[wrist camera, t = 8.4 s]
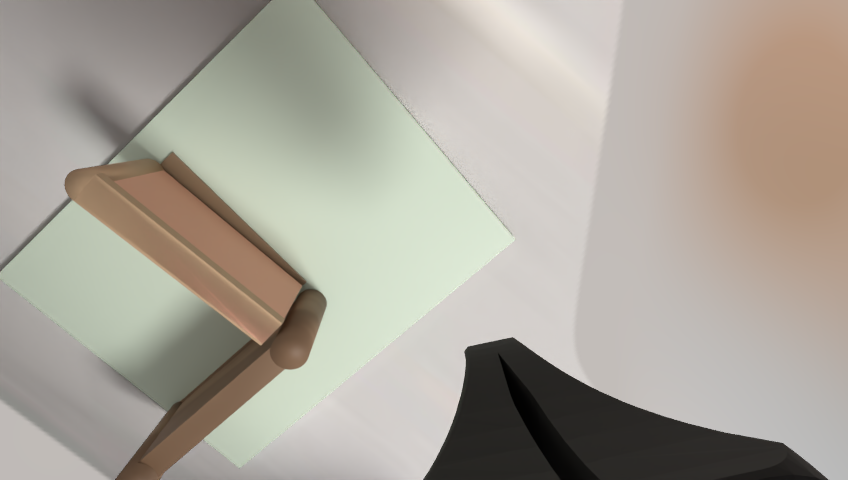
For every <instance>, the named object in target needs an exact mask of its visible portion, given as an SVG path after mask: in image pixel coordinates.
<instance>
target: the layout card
mask: <svg viewBox="0 0 848 480" xmlns="http://www.w3.org/2000/svg"><path fill="white" fill-rule="evenodd" d="M140 159H153V160H155V161H157V162H158V163H159V164H160V165H161V166H162V167H163V169H164V171H165V172H167V173H168V174H169V175H170V176H171V177H173V178H174V179H175V180H176V181H177V182H179V183H180V184H181V185H182V186H183V187H185V188H186V189H187V190H188V191H189V192H191V193H192V194H193V195H194V196H195V197H197V198H198V199H199V200H200V201H201V202H203V203H204V204H205V205H206V206H207V207H209V208H210V209H211V210H212V211H213V212H215V213H216V214H217V215H218V216H219V217H221V218H222V219H223V220H224V221H225V222H227V223H228V224H229V225H230V226H231V227H233V228H234V229H235V230H236V231H237V232H239V233H240V234H241V235H242V236H243V237H245V238H246V239H247V240H248V241H249V242H251V243H252V244H253V245H254V246H255V247H256V248H258V249H259V250H260V251H261V252H262V253H264V254H265V255H266V256H267V257H268V258H270V259H271V260H272V261H273V262H274V263H276V264H277V265H278V266H279V267H280V268H282V269H283V270H284V271H285V272H286V273H288V274H289V275H290V276H291V277H292V278H294V279H295V280H296V281H297V282H298V283H300V284H301V285H302V287H301V289H300V291H299V293H298V295H299V294H300V293H301V292H303V291H304V290H308V289H314V290H317V291H319V292H321V293H322V294H323V295H324V296H325V298H326V301H327V307H326V310H325V312H324V315H323V318H322V321H321V324H320V326H319V329H318V332H317V335H316V338H315V340H314V343H313V346H312V349H311V352H310V354H309V357H308V360H307V362H306V363H305V364H304V365H303V366H301V367H300V368H297V369H293V370H288V369H285V370H283V371H282V372H281V373H280V374H279V375H278V376H276V377H275V378H274V379H273V380H272V381H271V382H269V383H268V384H267V385H266V386H265V387H264V388H262V389H261V390H260V391H259V392H258V393H257V394H255V395H254V396H253V397H252V398H251V399H250V400H248V401H247V402H246V403H245V404H244V405H242V406H241V407H240V408H239V409H238V410H237V411H235V412H234V413H233V414H232V415H231V416H230V417H228V418H227V419H226V420H225V421H224V422H223V423H221V424H220V425H219V426H218V427H217V428H216V429H214V430H213V431H212V432H211V433H210V434H209V435H207V436H206V437H205V438H204V439H203V440H204V441H205V442H207V443H208V444H209V445H210V446H212V447H213V448H214V449H215V450H217V451H218V452H219V453H221V454H222V455H223V456H224V457H226V458H227V459H228V460H229V461H231V462H232V463H233V464H234V465H236V466H237V467H238V468H241V467H242V466H244V465H245V464H246V463H247V462H248V461H250V460H251V459H252V458H253V457H254V456H256V455H257V454H258V453H259V452H260V451H262V450H263V449H264V448H265V447H266V446H268V445H269V444H270V443H271V442H272V441H274V440H275V439H276V438H277V437H278V436H280V435H281V434H282V433H283V432H285V431H286V430H287V429H288V428H289V427H291V426H292V425H293V424H294V423H295V422H297V421H298V420H299V419H300V418H301V417H303V416H304V415H305V414H306V413H307V412H309V411H310V410H311V409H312V408H313V407H315V406H316V405H317V404H318V403H319V402H321V401H322V400H323V399H324V398H325V397H327V396H328V395H329V394H330V393H331V392H333V391H334V390H335V389H336V388H338V387H339V386H340V385H341V384H342V383H344V382H345V381H346V380H347V379H348V378H350V377H351V376H352V375H353V374H354V373H356V372H357V371H358V370H359V369H360V368H362V367H363V366H364V365H365V364H366V363H368V362H369V361H370V360H371V359H372V358H374V357H375V356H376V355H377V354H378V353H380V352H381V351H382V350H383V349H384V348H386V347H387V346H388V345H389V344H391V343H392V342H393V341H394V340H395V339H397V338H398V337H399V336H400V335H401V334H403V333H404V332H405V331H406V330H407V329H409V328H410V327H411V326H412V325H413V324H415V323H416V322H417V321H418V320H419V319H421V318H422V317H423V316H424V315H425V314H427V313H428V312H429V311H430V310H431V309H433V308H434V307H435V306H436V305H437V304H439V303H440V302H441V301H442V300H444V299H445V298H446V297H447V296H448V295H450V294H451V293H452V292H453V291H454V290H456V289H457V288H458V287H459V286H460V285H462V284H463V283H464V282H465V281H466V280H468V279H469V278H470V277H471V276H472V275H474V274H475V273H476V272H477V271H478V270H480V269H481V268H482V267H483V266H484V265H486V264H487V263H488V262H489V261H490V260H492V259H493V258H494V257H495V256H497V255H498V254H499V253H500V252H501V251H503V250H504V249H505V248H506V247H507V246H509V245H510V244H511V243H512V242H513V241H515V240H516V239H515V238H514V237H513V236H512V235H511V233H510V232H509V231H508V230H507V229H506V227H505V226H504V225H503V224H502V223H501V222H500V220H499V219H498V218H497V217H496V216H495V214H494V213H493V212H492V211H491V210H490V208H489V207H488V206H487V205H486V204H485V203H484V201H483V200H482V199H481V198H480V197H479V195H478V194H477V193H476V192H475V191H474V189H473V188H472V187H471V186H470V185H469V184H468V182H467V181H466V180H465V179H464V178H463V176H462V175H461V174H460V173H459V172H458V171H457V169H456V168H455V167H454V166H453V165H452V163H451V162H450V161H449V160H448V159H447V157H446V156H445V155H444V154H443V153H442V152H441V150H440V149H439V148H438V147H437V146H436V144H435V143H434V142H433V141H432V140H431V138H430V137H429V136H428V135H427V134H426V133H425V131H424V130H423V129H422V128H421V127H420V125H419V124H418V123H417V122H416V121H415V119H414V118H413V117H412V116H411V115H410V114H409V112H408V111H407V110H406V109H405V108H404V106H403V105H402V104H401V103H400V102H399V101H398V99H397V98H396V97H395V96H394V95H393V93H392V92H391V91H390V90H389V89H388V87H387V86H386V85H385V84H384V83H383V82H382V80H381V79H380V78H379V77H378V76H377V74H376V73H375V72H374V71H373V70H372V68H371V67H370V66H369V65H368V64H367V63H366V61H365V60H364V59H363V58H362V57H361V55H360V54H359V53H358V52H357V51H356V49H355V48H354V47H353V46H352V45H351V44H350V42H349V41H348V40H347V39H346V38H345V36H344V35H343V34H342V33H341V32H340V30H339V29H338V28H337V27H336V26H335V25H334V23H333V22H332V21H331V20H330V19H329V17H328V16H327V15H326V14H325V13H324V12H323V10H322V9H321V8H320V7H319V6H318V4H317V3H316V2H315V1H314V0H271V1H270V2H269V3H268V4H267V5H266V6H265V7H264V8H263V9H262V10H261V11H260V12H259V13H258V14H257V15H256V16H255V17H254V18H253V19H252V20H251V21H250V22H249V23H248V24H247V25H246V26H245V27H244V28H243V29H242V30H241V31H240V32H239V33H238V34H237V35H236V36H235V37H234V38H233V39H232V40H231V41H230V42H229V43H228V44H227V45H226V46H225V47H224V48H223V49H222V50H221V51H220V52H219V53H218V54H217V55H216V56H215V57H214V58H213V59H212V60H211V61H210V62H209V63H208V64H207V65H206V66H205V67H204V68H203V69H202V70H201V71H200V72H199V73H198V74H197V75H196V76H195V77H194V78H193V79H192V80H191V81H190V82H189V83H188V84H187V85H186V86H185V87H184V88H183V89H182V90H181V91H180V92H179V93H178V94H177V95H176V96H175V97H174V98H173V99H172V100H171V101H170V102H169V103H168V104H167V105H166V106H165V107H164V108H163V109H162V110H161V111H160V112H159V113H158V114H157V115H156V116H155V117H154V118H153V119H152V120H151V121H150V122H149V123H148V124H147V125H146V126H145V127H144V128H143V129H142V130H141V131H140V132H139V133H138V134H137V135H136V136H135V137H134V138H133V139H132V140H131V141H130V142H129V143H128V144H127V145H126V146H125V147H124V148H123V149H122V150H121V151H120V152H119V153H118V154H117V155H116V156H115V157H114V158H113V159H112V160H111V161H110V162H109V163H108V164H114V163H121V162H127V161H134V160H140ZM108 164H107V165H108ZM0 280H1V281H3V282H4V283H5V284H6V285H8V286H9V287H10V288H11V289H13V290H14V291H15V292H17V293H18V294H19V295H20V296H22V297H23V298H24V299H25V300H27V301H28V302H29V303H30V304H32V305H33V306H34V307H36V308H37V309H38V310H39V311H41V312H42V313H43V314H44V315H46V316H47V317H48V318H49V319H51V320H52V321H53V322H55V323H56V324H57V325H58V326H60V327H61V328H62V329H63V330H65V331H66V332H67V333H68V334H70V335H71V336H72V337H74V338H75V339H76V340H77V341H79V342H80V343H81V344H82V345H84V346H85V347H86V348H87V349H89V350H90V351H91V352H93V353H94V354H95V355H96V356H98V357H99V358H100V359H101V360H103V361H104V362H105V363H106V364H108V365H109V366H110V367H112V368H113V369H114V370H115V371H117V372H118V373H119V374H120V375H122V376H123V377H124V378H125V379H127V380H128V381H129V382H131V383H132V384H133V385H134V386H136V387H137V388H138V389H139V390H141V391H142V392H143V393H144V394H146V395H147V396H148V397H150V398H151V399H152V400H153V401H155V402H156V403H157V404H158V405H160V406H161V407H162V408H163V409H165V410H166V411H167V412H168V411H169V409H170V408H171V407H172V405H173V404H175V403H177V402H179V403H180V402H184V401H185V400H186V399H187V398H188V397H189V396H191V395H192V394H193V393H194V392H195V391H196V390H197V389H199V388H200V387H201V386H202V385H203V384H204V383H205V382H206V381H208V380H209V379H210V378H211V377H212V376H213V375H214V374H216V373H217V372H218V371H219V370H220V369H221V368H222V367H224V366H225V365H226V364H227V363H228V362H229V361H230V360H232V359H233V358H234V357H235V356H236V355H237V354H238V353H240V352H241V351H242V350H243V349H244V348H245V347H246V346H248V345H249V344H250V343H251V342H252V341H253V339H252V338H250V337H249V336H248V335H246V334H245V333H244V332H242V331H241V330H240V329H239V328H237V327H236V326H235V325H233V324H232V323H231V322H230V321H228V320H227V319H226V318H224V317H223V316H222V315H221V314H219V313H218V312H217V311H215V310H214V309H213V308H211V307H210V306H209V305H208V304H206V303H205V302H204V301H202V300H201V299H200V298H199V297H197V296H196V295H195V294H193V293H192V292H191V291H189V290H188V289H187V288H186V287H184V286H183V285H182V284H180V283H179V282H178V281H177V280H175V279H174V278H173V277H171V276H170V275H169V274H167V273H166V272H165V271H164V270H162V269H161V268H160V267H158V266H157V265H156V264H155V263H153V262H152V261H151V260H149V259H148V258H147V257H146V256H144V255H143V254H142V253H140V252H139V251H138V250H136V249H135V248H134V247H133V246H131V245H130V244H129V243H127V242H126V241H125V240H124V239H122V238H121V237H120V236H118V235H117V234H116V233H114V232H113V231H112V230H111V229H109V228H108V227H107V226H105V225H104V224H103V223H102V222H100V221H99V220H98V219H96V218H95V217H94V216H93V215H91V214H90V213H89V212H87V211H86V210H85V209H83V208H82V207H81V206H80V205H78V204H77V203H76V202H74V201H73V200H72V201H71V202H70V203H69V204H68V205H67V206H66V207H65V208H64V209H63V210H62V211H61V212H60V213H59V214H58V215H57V216H56V217H55V218H54V219H53V220H52V221H51V222H50V223H49V224H48V225H47V226H46V227H45V228H44V229H43V230H42V231H41V232H40V233H39V234H38V235H37V236H36V237H35V238H34V239H33V240H32V241H31V242H30V243H29V244H28V245H27V246H26V247H25V248H24V249H23V250H22V251H21V252H20V253H19V254H18V255H17V256H16V257H15V258H14V259H13V260H12V261H11V262H10V263H9V264H8V265H7V266H6V267H5V268H4V269H3V270H2V271H1V272H0ZM298 295H297V296H296V298H295V300H294V302H295V301H296V299H297V297H298ZM294 302H293V304H294ZM293 304H292V306H293ZM292 306H291V307H292ZM291 307H290V308H291Z"/></svg>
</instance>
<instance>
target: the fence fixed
mask: <svg viewBox="0 0 848 480" xmlns="http://www.w3.org/2000/svg"><path fill="white" fill-rule="evenodd" d="M326 307H327V301H326V298H325V296H324V295H323V294H322V293H321V292H319V291H317V290H314V289H308V290H304V291H303V292H301V293H300V294H299V295H298V297H297V299H296V301H295V302H294V304H293V306H292V307H291V308H290V309H289V311H288V313H287V315H286V316H285V320H284V322H283V323H282V325H281V326H280V327H279V328H278V329H277V330H276V331H275V332H274V333H273V334H272V335H271V336H270V337H269V338H268V339H267V340H266V341H265V342H264V343H263V344H262V345H259V344H258V343H257V342H255V341H254V340H253V341H252V342H251V343H250V344H249V345H248V346H246V347H245V348H244V349H243V350H242V351H241V352H240V353H238V354H237V355H236V356H235V357H234V358H233V359H232V360H230V361H229V362H228V363H227V364H226V365H225V366H224V367H222V368H221V369H220V370H219V371H218V372H217V373H216V374H214V375H213V376H212V377H211V378H210V379H209V380H208V381H206V382H205V383H204V384H203V385H202V386H201V387H200V388H199V389H197V390H196V391H195V392H194V393H193V394H192V395H191V396H189V397H188V398H187V399H186V400H185V401H184V402H180V403H179V402H177V403H175V404H173V405H172V407H171V408H170V409H169V411H168V412H167V413H166V414H165V416H164V417H163V418H162V420H161V421H160V422H159V424H158V425H157V426H156V427H155V429H154V430H153V431H152V433H151V434H150V435H149V436H148V438H147V439H146V440H145V442H144V443H143V444H142V445H141V447H140V448H139V449H138V451H137V452H136V453H135V455H134V456H133V457H132V458H131V460H130V461H129V462H128V464H127V465H126V466H125V467H124V469H123V470H122V471H121V473H120V474H119V475H118V477H117V478H116V479H115V480H160V478H161V477H162V475H163V473H164V472H165V471H166V470H168V469H169V468H170V467H171V466H172V465H173V464H175V463H176V462H177V461H178V460H179V459H180V458H182V457H183V456H184V455H185V454H186V453H187V452H189V451H190V450H191V449H192V448H193V447H194V446H196V445H197V444H198V443H199V442H200V441H202V440H203V439H204V438H205V437H206V436H207V435H209V434H210V433H211V432H212V431H213V430H214V429H216V428H217V427H218V426H219V425H220V424H221V423H223V422H224V421H225V420H226V419H227V418H228V417H230V416H231V415H232V414H233V413H234V412H235V411H237V410H238V409H239V408H240V407H241V406H242V405H244V404H245V403H246V402H247V401H248V400H250V399H251V398H252V397H253V396H254V395H255V394H257V393H258V392H259V391H260V390H261V389H262V388H264V387H265V386H266V385H267V384H268V383H269V382H271V381H272V380H273V379H274V378H275V377H276V376H278V375H279V374H280V373H281V372H282V371H283V370H285V369H288V370H293V369H297V368H300V367H301V366H303V365H304V364H305V363H306V362H307V360H308V357H309V354H310V352H311V349H312V346H313V343H314V340H315V338H316V335H317V332H318V329H319V326H320V324H321V321H322V318H323V315H324V312H325V310H326Z"/></svg>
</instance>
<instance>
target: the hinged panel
mask: <svg viewBox="0 0 848 480" xmlns="http://www.w3.org/2000/svg"><path fill="white" fill-rule="evenodd" d="M65 190H66V192H67V194H68V196H69V197H70V198H71V199H72V200H73V201H74V202H76V203H77V204H78V205H80V206H81V207H82V208H83V209H85V210H86V211H87V212H89V213H90V214H91V215H93V216H94V217H95V218H96V219H98V220H99V221H100V222H102V223H103V224H104V225H105V226H107V227H108V228H109V229H111V230H112V231H113V232H114V233H116V234H117V235H118V236H120V237H121V238H122V239H124V240H125V241H126V242H127V243H129V244H130V245H131V246H133V247H134V248H135V249H136V250H138V251H139V252H140V253H142V254H143V255H144V256H146V257H147V258H148V259H149V260H151V261H152V262H153V263H155V264H156V265H157V266H158V267H160V268H161V269H162V270H164V271H165V272H166V273H167V274H169V275H170V276H171V277H173V278H174V279H175V280H177V281H178V282H179V283H180V284H182V285H183V286H184V287H186V288H187V289H188V290H189V291H191V292H192V293H193V294H195V295H196V296H197V297H199V298H200V299H201V300H202V301H204V302H205V303H206V304H208V305H209V306H210V307H211V308H213V309H214V310H215V311H217V312H218V313H219V314H221V315H222V316H223V317H224V318H226V319H227V320H228V321H230V322H231V323H232V324H233V325H235V326H236V327H237V328H239V329H240V330H241V331H242V332H244V333H245V334H246V335H248V336H249V337H250V338H252V339H253V340H254V341H255V342H257V343H258V344H259V345H262V344H263V343H264V342H265V341H266V340H267V339H268V338H269V337H270V336H271V335H272V334H273V333H274V332H275V331H276V330H277V329H278V328H279V327H280V326H281V325H282V323H283V322H284V320H285V316H286V315H287V313H288V311H289V309H290V307H291V306H292V304H293V302H294V300H295V298H296V296H297V295H298V293H299V291H300V289H301V287H302V285H301V284H300V283H298V282H297V281H296V280H295V279H294V278H292V277H291V276H290V275H289V274H288V273H286V272H285V271H284V270H283V269H282V268H280V267H279V266H278V265H277V264H276V263H274V262H273V261H272V260H271V259H270V258H268V257H267V256H266V255H265V254H264V253H262V252H261V251H260V250H259V249H258V248H256V247H255V246H254V245H253V244H252V243H251V242H249V241H248V240H247V239H246V238H245V237H243V236H242V235H241V234H240V233H239V232H237V231H236V230H235V229H234V228H233V227H231V226H230V225H229V224H228V223H227V222H225V221H224V220H223V219H222V218H221V217H219V216H218V215H217V214H216V213H215V212H213V211H212V210H211V209H210V208H209V207H207V206H206V205H205V204H204V203H203V202H201V201H200V200H199V199H198V198H197V197H195V196H194V195H193V194H192V193H191V192H189V191H188V190H187V189H186V188H185V187H183V186H182V185H181V184H180V183H179V182H177V181H176V180H175V179H174V178H173V177H171V176H170V175H169V174H168V173H167V172H165V171H164V169H163V167H162V166H161V165H160V164H159V163H158V162H157V161H155V160H153V159H140V160H134V161H127V162H121V163H114V164H108V165H102V166H95V167H89V168H82V169H77V170H73V171H72V172H70V173H69V174H68V175H67V177H66V179H65Z"/></svg>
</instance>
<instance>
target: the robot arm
mask: <svg viewBox="0 0 848 480" xmlns="http://www.w3.org/2000/svg"><path fill="white" fill-rule="evenodd" d="M464 352H465V357H466V369H465V377H464V383H463V388H462V393H461V397H460V400H459V404H458V407H457V411H456V414H455V417H454V420H453V423H452V425H451V428H450V430H449V433H448V435H447V437H446V440H445V442H444V444H443V446H442V448H441V450H440V452H439V454H438V456H437V458H436V460H435V461H434V463H433V465H432V467H431V468H430V470H429V472H428V473H427V475H426V476H425V478H424V479H423V480H828V479H827V478H826V477H825V476H823V475H822V474H821V473H820V472H819V471H818V470H816V469H815V468H814V467H813V466H812V465H810V464H809V463H808V462H807V461H805V460H804V459H803V458H802V457H800V456H799V455H798V454H797V453H795V452H794V451H793V450H791V449H790V448H788V447H787V446H786V445H784V444H783V443H779V442H774V441H768V440H763V439H757V438H751V437H746V436H741V435H735V434H730V433H724V432H720V431H716V430H712V429H708V428H704V427H700V426H696V425H692V424H688V423H684V422H681V421H677V420H674V419H671V418H667V417H664V416H661V415H658V414H655V413H652V412H649V411H647V410H643V409H641V408H638V407H635V406H633V405H630V404H627V403H625V402H622V401H620V400H618V399H616V398H613V397H611V396H609V395H607V394H604V393H602V392H600V391H598V390H596V389H594V388H592V387H590V386H588V385H586V384H584V383H582V382H580V381H579V380H577V379H575V378H573V377H571V376H570V375H568V374H566V373H565V372H563V371H561V370H560V369H558V368H556V367H555V366H553V365H552V364H550V363H549V362H547V361H546V360H544V359H543V358H541V357H540V356H538V355H537V354H536V353H534V352H533V351H531V350H530V349H529V348H527V347H526V346H524V345H523V344H522V343H520V342H519V341H517V340H516V339H515V338H513V337H512V338H507V339H502V340H498V341H493V342H488V343H483V344H478V345H474V346H469V347H467V349H466V350H465V351H464Z"/></svg>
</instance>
